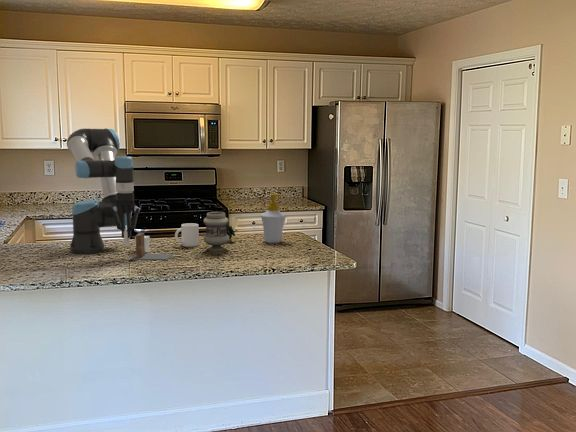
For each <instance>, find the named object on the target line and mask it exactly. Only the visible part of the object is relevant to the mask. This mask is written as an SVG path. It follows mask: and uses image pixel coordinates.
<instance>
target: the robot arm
mask: <svg viewBox="0 0 576 432" xmlns="http://www.w3.org/2000/svg"><path fill="white" fill-rule="evenodd" d="M66 146H67V149H68V151H69V152H70V153H71V154H72V155H73V157H74V159H75V161H76V162H75V163H74V169H75V172H74V173H75V176H76V177H77V178H79V179H95V178H96V179H97V178H100V182H101V187H102V188H101V189H102V194H103V197H102V199H101V200H100V201H101V202H100V201H99V200H98V199H86V200H80V201H78V202H75V203H73V205H72V206H71V207H72V208H71V215H72V231H73V232H72V239H71V242H70V246H69V252H70V253H72V254H81V255H84V254H86V255H87V254H94V253H95V254H96V253H100V252H103V251H105V243H104V241H103V239H102V235H101V231H100V230H101V228H110V227H113V228H114V227H116V229H117V230H118V231H121V238H122V239H123V245H124V246H126V247H128V246H130V239H131V238H132V231H133V230H135V229H136V226H137V221H138V216H139V213H140V211H141V207H138V206H137V205H136V203H135V192H134V191H135V188H134V186H135V183H134V162H133V158H132V157H131V156H116V155H117V154H118V152H119V151H120V148H121V147H120V146H121V145H120V138H119V135H118V133H117V131H116V130H115V129H113V128H79V129H77V130H75V131H73V132H72V133H71V134H70V135H69V136H68V138H67V140H66ZM95 158H96V159H97V160H95ZM133 211H134V213H133ZM132 214H133V217H132Z"/></svg>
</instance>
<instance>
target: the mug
mask: <svg viewBox="0 0 576 432" xmlns="http://www.w3.org/2000/svg"><path fill="white" fill-rule="evenodd" d="M180 232H181V236H180V237H181V240H180V239H179V238H178V235H179V233H180ZM199 235H200V234H199V224H198V223H192V222H191V223H190V222H189V223H187V222H186V223H182V224H181V227H180V228H178V229H177V230H176V231H175V232H174V239H175V241H176V242H177V243H179V244H181V245H182V247H187V248H193V247H198V246H199V245H200V241H199V239H200V237H199Z"/></svg>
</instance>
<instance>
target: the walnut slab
mask: <svg viewBox="0 0 576 432" xmlns="http://www.w3.org/2000/svg"><path fill="white" fill-rule="evenodd" d="M144 236H145V233H144V232H139V233H137V234H136V235H135V237H136V243H135V251H136V253H135V255H136V258H142V257H143V256H144V255H145V254H146V253H145V245H144Z"/></svg>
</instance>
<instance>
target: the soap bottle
mask: <svg viewBox="0 0 576 432" xmlns="http://www.w3.org/2000/svg"><path fill="white" fill-rule="evenodd" d="M268 195H269V196H270V199H271V201H270V202H269V205H267V210H266V211H265V212H263V213H261V214H260V219H261V221H262V227H263V241H264V242H265V243H268V244H278V243H281V242H282V240H283V228H284V223H285V219H286V217H287V216H286V214H285V213H283V212H281V211H280V210H279V205H278V204H277V201H275V200H276V198H277V197H281V196H285V193H268Z"/></svg>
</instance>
